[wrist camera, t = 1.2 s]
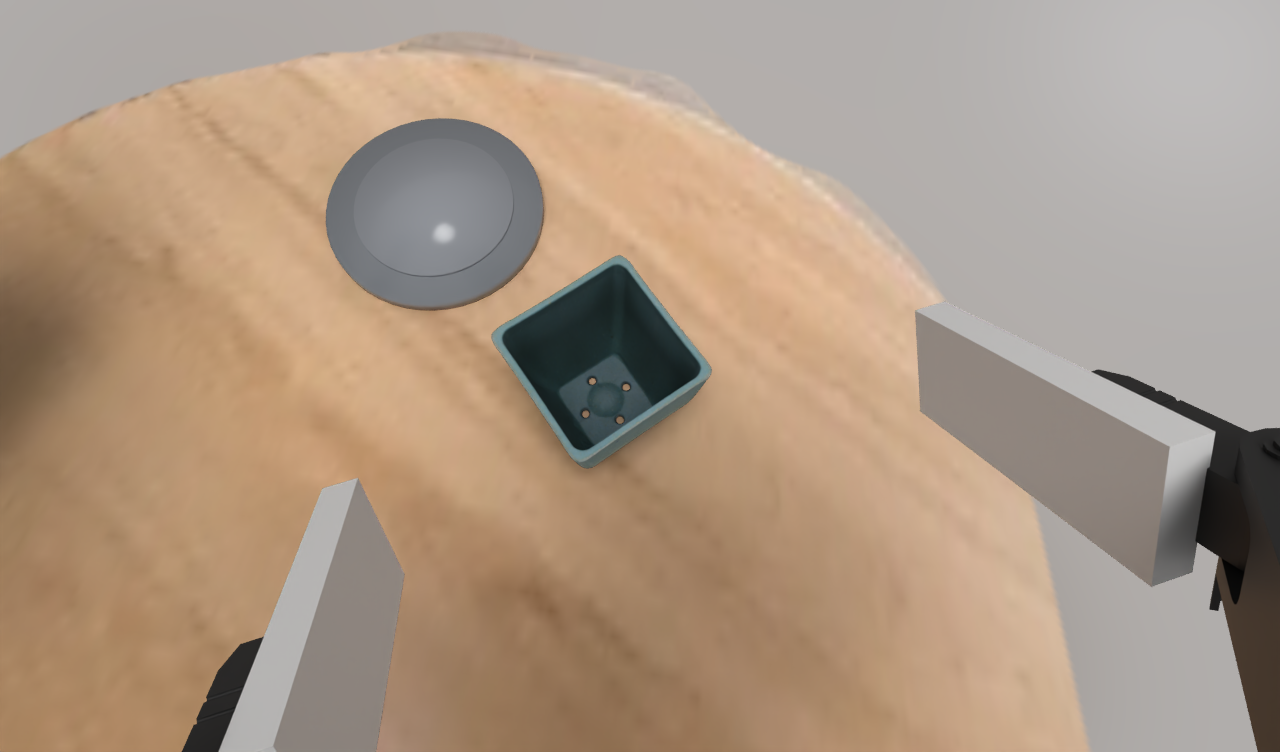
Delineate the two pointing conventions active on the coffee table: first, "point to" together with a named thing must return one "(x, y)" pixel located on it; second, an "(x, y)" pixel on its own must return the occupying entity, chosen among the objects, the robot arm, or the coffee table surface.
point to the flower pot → (602, 360)
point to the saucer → (435, 214)
